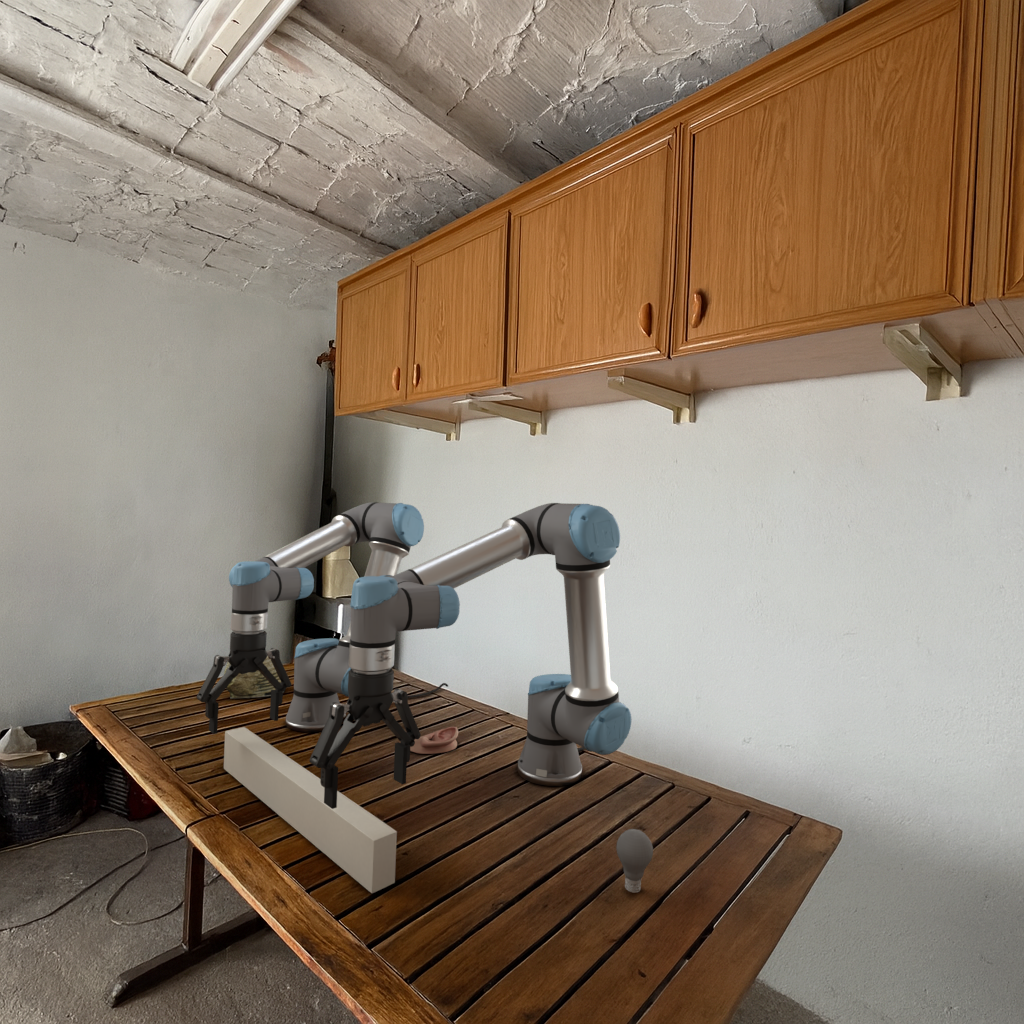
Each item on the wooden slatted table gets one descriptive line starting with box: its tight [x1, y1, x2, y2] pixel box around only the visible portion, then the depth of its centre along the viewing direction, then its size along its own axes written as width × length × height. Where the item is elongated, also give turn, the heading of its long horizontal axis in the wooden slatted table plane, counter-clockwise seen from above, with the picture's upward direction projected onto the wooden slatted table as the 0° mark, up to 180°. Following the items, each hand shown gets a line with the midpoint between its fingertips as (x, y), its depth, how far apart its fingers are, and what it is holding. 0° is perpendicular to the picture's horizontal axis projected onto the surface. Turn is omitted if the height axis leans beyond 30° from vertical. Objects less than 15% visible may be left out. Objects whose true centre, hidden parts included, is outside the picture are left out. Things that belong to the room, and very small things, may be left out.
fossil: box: [223, 656, 287, 699], centre depth 198 cm, size 9×18×15 cm, turn 132°
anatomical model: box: [410, 726, 459, 755], centre depth 163 cm, size 13×4×12 cm
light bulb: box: [615, 828, 654, 894], centre depth 106 cm, size 6×6×10 cm
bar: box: [223, 726, 398, 894], centre depth 125 cm, size 61×4×9 cm, turn 45°
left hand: (244, 725), depth 142 cm, fingers open, 13 cm apart
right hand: (366, 793), depth 108 cm, fingers open, 13 cm apart
